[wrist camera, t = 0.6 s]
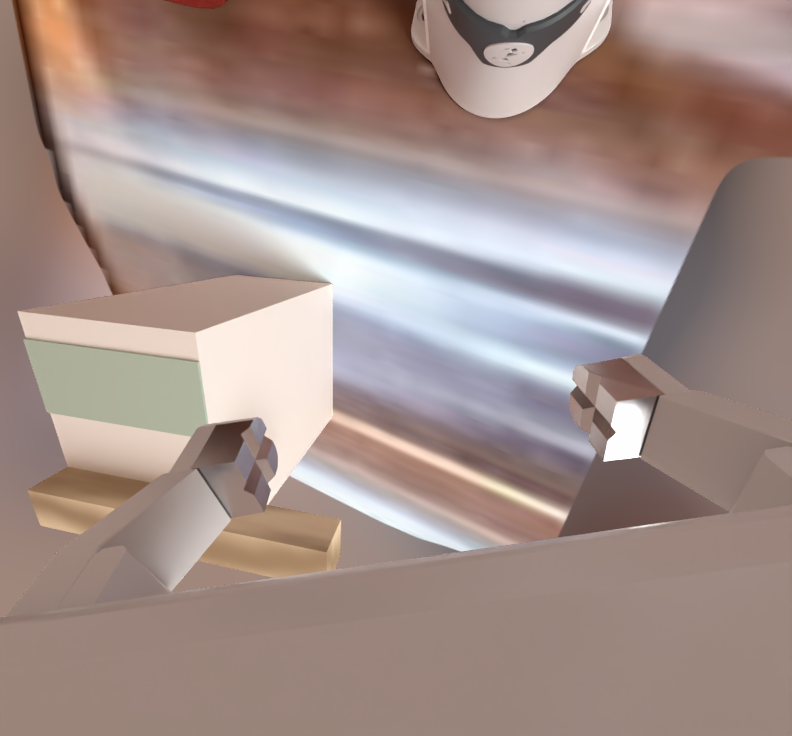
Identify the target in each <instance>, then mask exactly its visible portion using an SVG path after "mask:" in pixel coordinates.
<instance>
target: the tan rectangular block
mask: <svg viewBox="0 0 792 736" xmlns="http://www.w3.org/2000/svg"><path fill="white" fill-rule="evenodd" d="M148 484H150V482H145V481H140V480H134V479H129V478H124V477H119V476H114V475H109V474H103V473H98V472H93V471H88V470H83V469H77V468H72V467H66V468H65V469H63V470H61V471H59V472H58V473H56V474H54V475H53V476H51V477H49V478H47V479H46V480H44V481H42V482H40V483H39V484H37V485H35V486H34V487H32V488H30V489H28V490H27V491H28V494H29V496H30V499H31V502H32V504H33V507H34V509H35V512H36V515H37V517H38V520H39V522H40V525H41V526H45V527H49V528H54V529H59V530H63V531H68V532H72V533H76V534H82V533H84V532H85V531H86V530H88V529H89V528H90V527H92V526H93V525H94V524H96V523H97V522H98V521H100V520H101V519H102V518H104V517H105V516H106V515H108V514H109V513H111V512H112V511H113V510H115V509H116V508H117V507H119V506H120V505H121V504H123V503H124V502H125V501H127V500H128V499H129V498H131V497H132V496H133V495H135V494H136V493H138V492H139V491H140V490H142V489H143V488H144V487H146V486H147V485H148ZM230 519H231V521H230V522H229V524H228V525H227V526H226V527H225V528H224V529H223V531H222V532H221V533H220V534H219V535H218V537H217V538H216V539H215V540H214V541H213V543H212V544H211V545H210V546H209V547H208V548H207V550H206V551H205V552H204V553H203V554H202V556H201V557H200V558H199V559H198V560H197V561H202V562H206V563H210V564H215V565H220V566H224V567H229V568H233V569H237V570H242V571H246V572H251V573H255V574H260V575H264V576H269V577H273V578H279V577H286V576H293V575H301V574H308V573H315V572H322V571H329V570H335V567H336V565H337V562H338V560H339V557H340V554H341V519H337V518H332V517H327V516H322V515H316V514H311V513H306V512H301V511H295V510H290V509H285V508H280V507H275V506H269V505H266V508H265V512H264V513H258V514H252V515H247V516H241V517H236V518H230Z"/></svg>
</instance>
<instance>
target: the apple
mask: <svg viewBox="0 0 792 736" xmlns="http://www.w3.org/2000/svg"><path fill="white" fill-rule="evenodd" d="M165 1H169V2H173V3H178V4H182V5H186V6H191V7H195V8H210V9H214V8H217V7H219V6H221V5H224V4H225V3H226V1H227V0H165Z"/></svg>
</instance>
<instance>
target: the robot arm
mask: <svg viewBox="0 0 792 736" xmlns="http://www.w3.org/2000/svg"><path fill="white" fill-rule="evenodd" d="M423 16H424V21H423V20H422V18H423ZM611 16H612V0H417V3H416V8H415V12H414V17H413V21H412V26H411V38H412V42H413V44H414V46H415V47H416V48H417V50H418V51H419V52H420V53H421V54H423V55H424V56H425V57H426V58H427V59H428V60H430V61H431V62H432V64H433V65H434V67H435V69H436V71H437V74H438V76H439V78H440V80H441V82H442V84H443V86H444V88H445V90H446V91H447V93H448V94H449V95H450V97H451V98H452V99H453V100H454V101H455V102H456V103H457V104H458V105H460V106H461V107H462V108H464V109H465V110H467V111H469V112H470V113H473V114H475V115H478V116H482V117H487V118H505V117H510V116H514V115H517V114H520V113H522V112H524V111H526V110H528V109H530V108H532V107H533V106H535V105H537V104H538V103H539V102H541V101H542V100H543V99H544V98H546V97H547V96H548V95H549V94H550V93H551V92H552V91H553V90H554V89H555V88H556V87H557V85H558V84H559V83H560V82H561V80H562V79H563V78H564V76H565V75H566V74H567V72H568V71H569V70H570V69H571V67H572V66H573V65H574V64H575V63H576V62H577V61H579V60H580V59H582V58H583V57H585V56H586V55H588V54H589V53H591V52H592V51H593V50H595V49H596V48H597V47H598V46H600V45H601V44H602V42H603V41H604V40H605V38H606V36H607V34H608V32H609V30H610V27H611ZM572 380H573V381H574V382H575V383H576V384H577V386H576V388H575V389H574V390H573V391H572V392H571V393H570V403H569V404H570V410H571V414H572V417H573V419H574V421H575V423H576V424H577V426H578V427H579V429H581V430H583V431H585V432H587V433H589V434H590V437H589V442H590V444H591V445H592V446H593V448H594V449H595V450H596V452H597V453H598V454H599V456H600V457H601V458H602V460H603V461H610V460H618V459H627V458H635V457H641V459H642V460H644V461H646V462H647V463H649V464H650V465H652V466H654V467H655V468H657V469H659V470H661V471H662V472H664V473H666V474H667V475H669V476H671V477H672V478H674V479H676V480H677V481H679V482H681V483H682V484H684V485H686V486H687V487H689V488H691V489H692V490H694V491H696V492H697V493H699V494H701V495H702V496H704V497H706V498H707V499H709V500H711V501H712V502H714V503H716V504H717V505H719V506H721V507H723V508H724V509H726V510H728V511H729V512H730V513H728V514H721V515H715V516H707V517H700V518H693V519H686V520H679V521H673V522H665V523H658V524H652V525H644V526H637V527H630V528H623V529H617V530H610V531H602V532H596V533H588V534H581V535H574V536H568V537H561V538H553V539H547V540H540V541H533V542H526V543H519V544H512V545H505V546H498V547H491V548H484V549H477V550H470V551H463V552H456V553H449V554H442V555H434V556H427V557H420V558H413V559H406V560H399V561H392V562H385V563H378V564H371V565H364V566H357V567H350V568H343V569H336V570H329V571H322V572H315V573H308V574H301V575H293V576H286V577H279V578H272V579H265V580H259V581H251V582H245V583H238V584H230V585H224V586H216V587H209V588H203V589H195V590H189V591H181V592H174V593H172V592H171V591H172V590H173V589H174V587H175V586H176V585H177V584H178V583H179V582H180V581H181V579H182V578H183V577H184V576H185V575H186V573H187V572H188V571H189V570H190V569H191V567H192V566H193V565H194V564H195V563H196V562H197V560H198V559H199V558H200V557H201V556H202V554H203V553H204V552H205V551H206V550H207V548H208V547H209V546H210V545H211V544H212V543H213V541H214V540H215V539H216V538H217V537H218V535H219V534H220V533H221V532H222V531H223V529H224V528H225V527H226V526H227V525H228V524H229V522H230V521H231V519H230V518H236V517H241V516H247V515H252V514H258V513H264V512H265V508H266V505H267V502H268V499H269V495H270V492H271V489H270V487H269V485H268V483H269V482H270V481H271V480H272V479H273V478H274V477H275V475H276V471H277V468H278V454H277V450H276V447H275V445H274V442H273V441H272V440H271V439H269V438H267V437H266V436H264V435H265V432H266V429H267V428H266V426H265V424H264V422H263V420H262V419H261V418H258V417H253V418H246V419H239V420H232V421H225V422H220V423H212V424H205V425H202V426H200V427H198V428H197V429H196V431H195V432H194V434H193V435H192V437H191V438H190V440H189V442H188V443H187V445H186V446H185V448H184V450H183V451H182V453H181V454H180V456H179V457H178V459H177V461H176V462H175V464H174V465H173V467H172V469H171V470H170V472H169V473H166V474H162V475H160V476H159V477H158V478H156V479H155V480H154V481H152V482H151V483H150V484H148V485H147V486H146V487H144V488H143V489H142V490H140V491H139V492H138V493H136V494H135V495H133V496H132V497H131V498H129V499H128V500H127V501H125V502H124V503H123V504H121V505H120V506H119V507H117V508H116V509H115V510H113V511H112V512H111V513H109V514H108V515H106V516H105V517H104V518H102V519H101V520H100V521H98V522H97V523H96V524H94V525H93V526H92V527H90V528H89V529H88V530H86V531H85V532H84V533H82V534H81V535H80V536H78V537H77V538H75V539H74V540H73V541H71V542H70V543H69V544H67V545H66V546H65V547H63V548H62V549H61V550H60V551H58V552H57V553H55V554H54V556H53V557H52V558H51V559H50V561H49V562H48V563H47V565H46V566H45V567H44V568H43V570H42V571H41V572H40V574H39V575H38V576H37V577H36V579H35V580H34V581H33V583H32V584H31V585H30V586H29V588H28V589H27V590H26V591H25V593H24V594H23V595H22V597H21V598H20V599H19V600H18V602H17V603H16V604H15V606H14V607H13V608H12V609H11V611H10V612H9V613H8V615H7V616H6V617H0V736H792V419H790V418H787V417H783V416H780V415H777V414H774V413H770V412H767V411H764V410H761V409H757V408H754V407H751V406H748V405H744V404H741V403H738V402H735V401H731V400H728V399H725V398H722V397H718V396H715V395H712V394H709V393H705V392H702V391H699V390H695V391H690V390H688V389H687V388H686V387H684V386H683V385H682V384H681V383H679V382H678V381H677V380H675V379H674V378H673V377H672V376H670V375H669V374H668V373H666V372H665V371H663V370H662V369H661V368H660V367H658V366H657V365H656V364H654V363H653V362H652V361H650V360H649V359H648V358H647V357H646V356H643V355H640V354H636V355H631V356H626V357H620V358H617V359H613V360H607V361H601V362H595V363H589V364H583V365H577V366H576V367H575V369H574V371H573V378H572Z"/></svg>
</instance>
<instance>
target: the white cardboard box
mask: <svg viewBox="0 0 792 736" xmlns="http://www.w3.org/2000/svg"><path fill="white" fill-rule="evenodd" d="M18 315H19V318H20V321H21V324H22V327H23V330H24V333H25V336H26V339H23V340H24V343H25V347H26V349H27V353H28V356H29V359H30V362H31V365H32V368H33V371H34V374H35V377H36V380H37V383H38V386H39V389H40V393H41V395H42V399H43V402H44V405H45V408H46V411H47V413H51V417H52V420H53V422H54V426H55V429H56V432H57V435H58V438H59V441H60V444H61V447H62V450H63V453H64V457H65V460H66V463H67V465H68V467H72V468H77V469H83V470H88V471H93V472H98V473H103V474H109V475H114V476H119V477H124V478H129V479H134V480H140V481H145V482H150V483H151V482H152V481H154V480H155V479H156V478H158V477H159V476H160V475H162V474H166V473H169V472H170V470H171V469H172V467H173V465H174V464H175V462H176V461H177V459H178V457H179V456H180V454H181V453H182V451H183V450H184V448H185V446H186V445H187V443H188V442H189V440H190V438H191V437H192V435H193V434H194V432H195V431H196V429H197V428H198V427H200V426H202V425H205V424H212V423H220V422H225V421H232V420H239V419H246V418H253V417H258V418H261V419H262V420H263V422H264V424H265V426H266V428H267V429H266V432H265V435H264V436H266V437H267V438H269V439H271V440H272V441H273V442H274V445H275V447H276V450H277V454H278V468H277V471H276V475H275V477H274V478H273V479H272V480H271V481H270V482H269V483H268V485H269V487H270V489H271V492H270V495H269V499H268V502H267V505H268V504H269V502H270V501H271V500H272V498H273V497H274V496H275V494H276V493H277V491H278V490H279V489H280V487H281V486H282V485H283V483H284V482H285V481H286V479H287V478H288V476H289V475H290V474H291V472H292V471H293V470H294V468H295V467H296V466H297V464H298V463H299V461H300V460H301V459H302V457H303V456H304V455H305V453H306V452H307V451H308V449H309V448H310V446H311V445H312V444H313V442H314V441H315V440H316V438H317V437H318V435H319V434H320V433H321V431H322V430H323V429H324V427H325V426H326V425H327V423H328V422H329V420H330V419H331V418H332V416H333V284H330V283H319V282H308V281H297V280H287V279H276V278H265V277H254V276H244V275H232V276H226V277H220V278H214V279H208V280H202V281H196V282H190V283H184V284H178V285H172V286H166V287H160V288H154V289H148V290H142V291H136V292H130V293H124V294H118V295H112V296H106V297H100V298H94V299H88V300H82V301H76V302H70V303H64V304H58V305H52V306H46V307H40V308H34V309H28V310H22V311H18Z"/></svg>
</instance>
